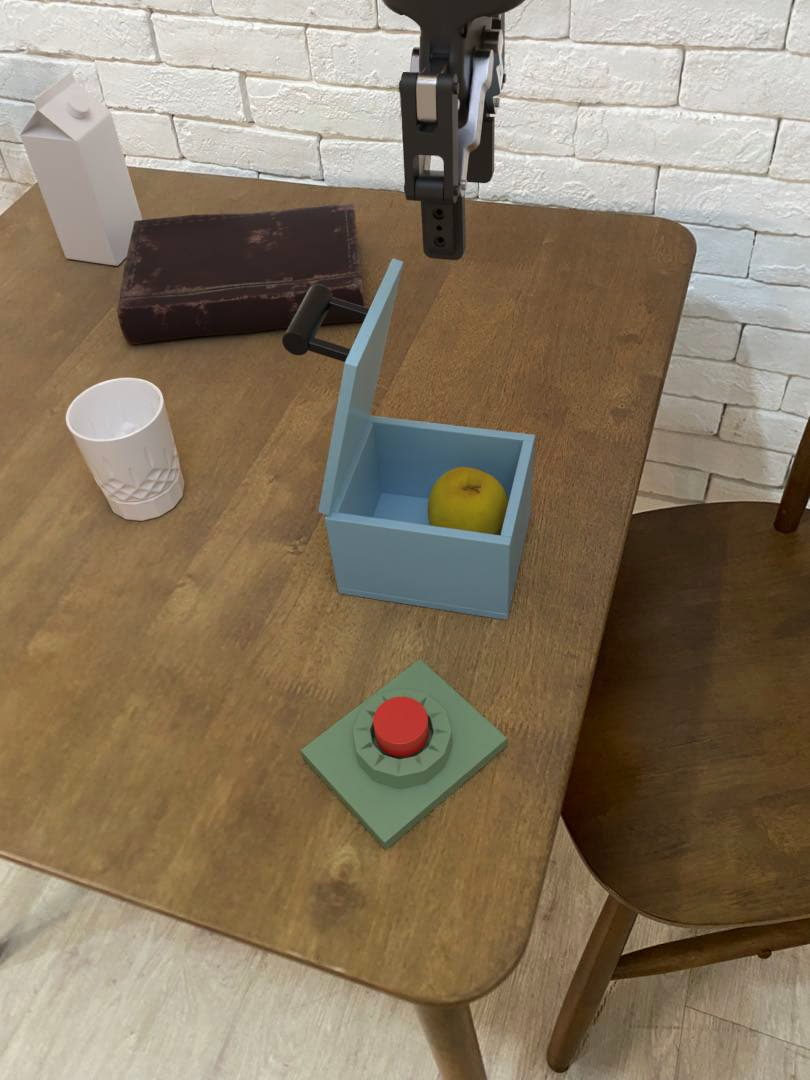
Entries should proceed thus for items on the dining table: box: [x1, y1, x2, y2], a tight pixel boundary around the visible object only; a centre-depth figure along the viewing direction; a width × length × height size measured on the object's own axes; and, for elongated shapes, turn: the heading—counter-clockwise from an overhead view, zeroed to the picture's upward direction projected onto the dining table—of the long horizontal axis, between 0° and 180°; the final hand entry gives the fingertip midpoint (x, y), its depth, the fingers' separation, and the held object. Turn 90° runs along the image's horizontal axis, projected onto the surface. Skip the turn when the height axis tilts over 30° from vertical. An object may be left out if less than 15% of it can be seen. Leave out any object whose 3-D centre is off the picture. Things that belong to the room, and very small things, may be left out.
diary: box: [116, 202, 366, 345], centre depth 102 cm, size 19×25×5 cm
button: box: [373, 697, 429, 757], centre depth 62 cm, size 4×4×2 cm
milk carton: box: [19, 70, 143, 267], centre depth 105 cm, size 7×7×19 cm
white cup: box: [65, 377, 185, 522], centre depth 80 cm, size 8×8×10 cm
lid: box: [281, 258, 404, 516], centre depth 66 cm, size 14×12×6 cm
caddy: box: [324, 414, 536, 621], centre depth 74 cm, size 14×12×9 cm
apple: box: [428, 467, 509, 536], centre depth 73 cm, size 6×6×8 cm
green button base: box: [300, 658, 508, 851], centre depth 64 cm, size 11×9×3 cm
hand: (460, 215), depth 54 cm, fingers open, 8 cm apart
